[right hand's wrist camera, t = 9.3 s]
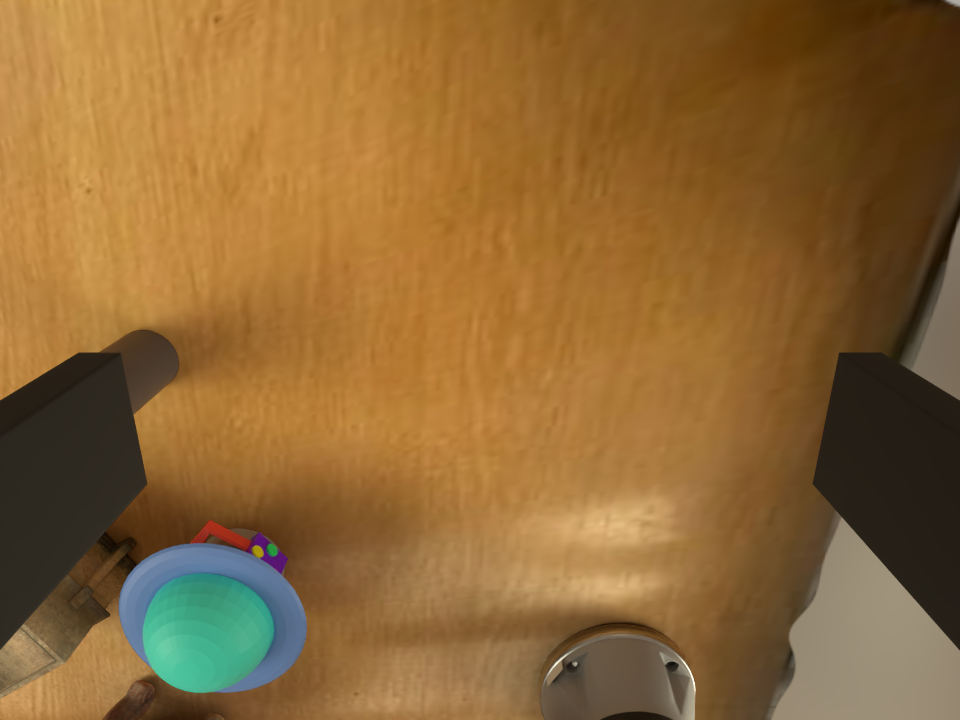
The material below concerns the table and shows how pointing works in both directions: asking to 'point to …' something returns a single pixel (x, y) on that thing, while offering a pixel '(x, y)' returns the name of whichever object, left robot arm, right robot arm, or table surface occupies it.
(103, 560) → the miniature house
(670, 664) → the right robot arm
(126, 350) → the bottle
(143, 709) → the sculpture
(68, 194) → the table surface
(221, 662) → the toy flying saucer
